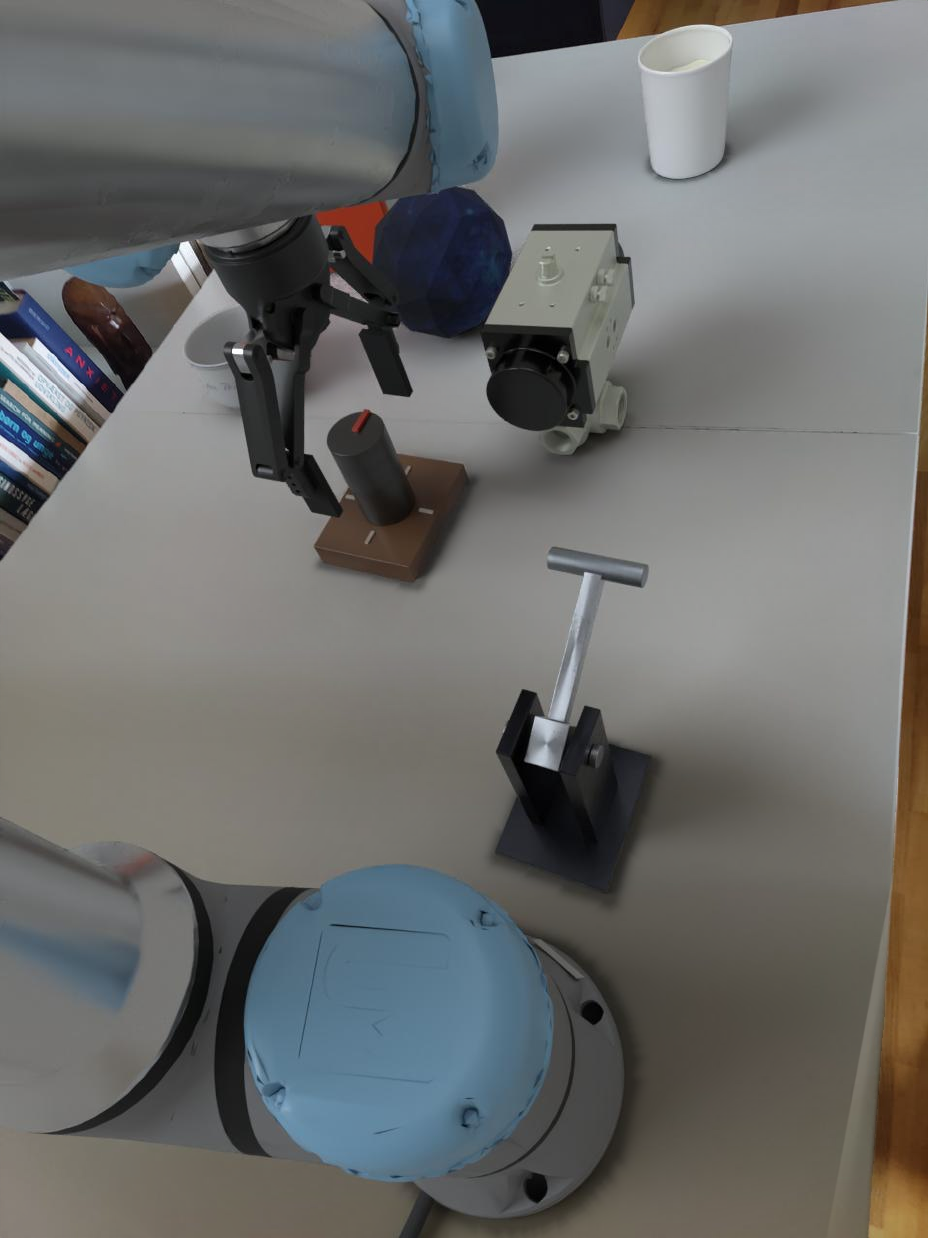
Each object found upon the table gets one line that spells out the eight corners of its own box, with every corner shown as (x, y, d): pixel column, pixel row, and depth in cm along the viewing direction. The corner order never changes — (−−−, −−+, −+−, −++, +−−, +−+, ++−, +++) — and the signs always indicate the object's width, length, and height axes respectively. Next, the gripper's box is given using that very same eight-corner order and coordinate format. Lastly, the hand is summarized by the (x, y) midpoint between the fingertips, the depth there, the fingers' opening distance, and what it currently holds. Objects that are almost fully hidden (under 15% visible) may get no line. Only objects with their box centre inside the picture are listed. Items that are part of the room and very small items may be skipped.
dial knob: (400, 530, 75) (366, 456, 67) (353, 520, 77) (314, 448, 69) (424, 487, 77) (393, 412, 70) (377, 479, 79) (342, 405, 72)
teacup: (198, 414, 95) (161, 358, 89) (252, 349, 99) (220, 291, 93) (295, 436, 89) (262, 378, 83) (347, 366, 93) (320, 305, 87)
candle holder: (628, 160, 102) (620, 53, 92) (699, 125, 103) (698, 14, 93) (674, 194, 96) (669, 82, 87) (748, 156, 97) (752, 41, 87)
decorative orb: (506, 204, 94) (400, 129, 84) (563, 270, 85) (451, 195, 75) (434, 312, 101) (327, 254, 91) (479, 383, 92) (367, 328, 82)
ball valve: (600, 501, 75) (574, 338, 60) (510, 490, 78) (464, 333, 63) (650, 360, 83) (637, 186, 68) (567, 355, 86) (538, 188, 72)
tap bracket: (547, 732, 64) (515, 644, 53) (652, 762, 60) (640, 674, 50) (498, 857, 59) (453, 787, 49) (607, 896, 56) (584, 831, 46)
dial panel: (417, 584, 74) (408, 566, 72) (323, 562, 78) (312, 545, 76) (470, 481, 80) (463, 462, 77) (379, 466, 84) (370, 447, 81)
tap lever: (559, 550, 54) (548, 542, 52) (651, 568, 51) (644, 560, 49) (507, 752, 53) (494, 752, 51) (599, 780, 51) (589, 781, 49)
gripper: (197, 358, 48) (334, 576, 65) (387, 106, 58) (461, 351, 75) (100, 347, 51) (256, 558, 68) (297, 109, 61) (388, 344, 78)
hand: (364, 450), depth 72 cm, fingers open, 13 cm apart
